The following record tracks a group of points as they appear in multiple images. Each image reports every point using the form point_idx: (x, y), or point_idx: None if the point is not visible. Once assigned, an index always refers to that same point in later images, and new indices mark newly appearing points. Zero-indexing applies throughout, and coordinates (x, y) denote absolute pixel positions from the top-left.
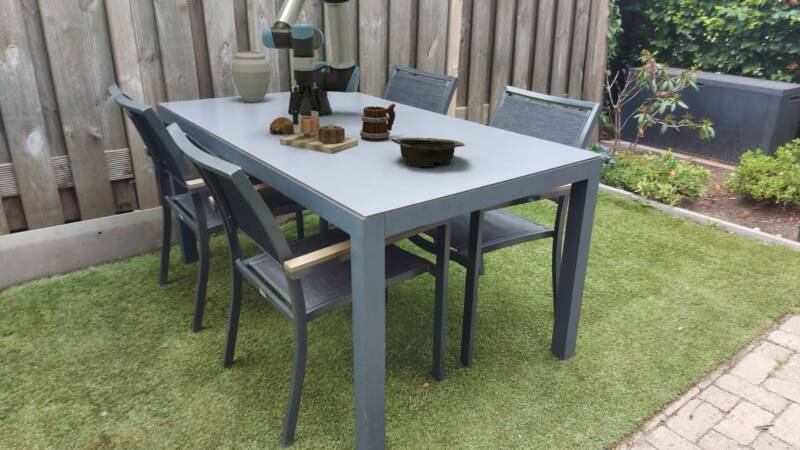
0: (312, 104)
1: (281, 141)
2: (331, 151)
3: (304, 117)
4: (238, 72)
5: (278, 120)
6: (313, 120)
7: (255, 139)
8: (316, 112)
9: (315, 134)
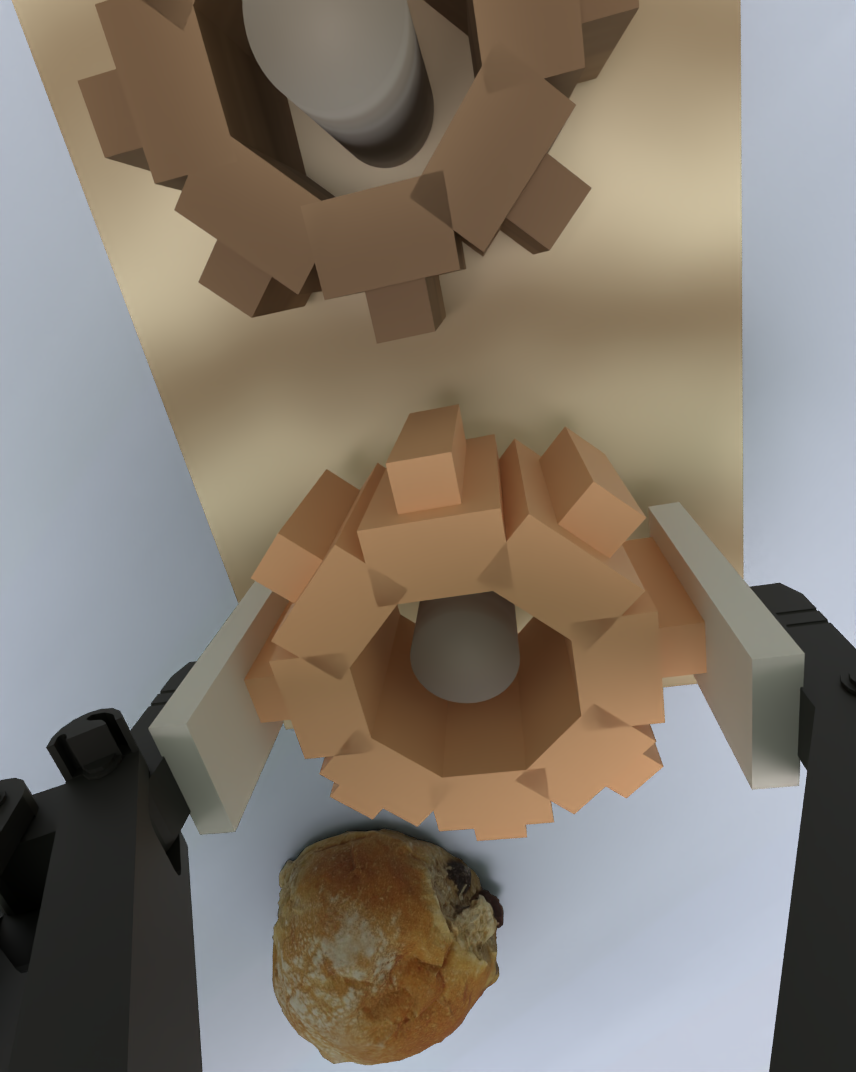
0: (173, 928)
1: None
2: None
3: (422, 759)
4: None
5: (427, 1017)
6: (454, 505)
7: (725, 878)
8: (195, 722)
9: None
